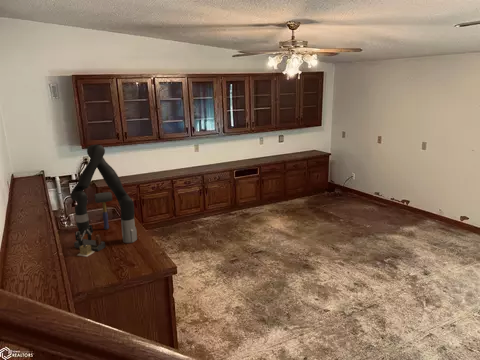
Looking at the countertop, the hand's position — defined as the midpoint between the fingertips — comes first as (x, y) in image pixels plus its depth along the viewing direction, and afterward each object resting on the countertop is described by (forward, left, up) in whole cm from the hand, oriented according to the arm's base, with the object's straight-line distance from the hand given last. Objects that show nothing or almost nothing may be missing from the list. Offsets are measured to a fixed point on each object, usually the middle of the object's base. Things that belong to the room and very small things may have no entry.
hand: (85, 242), depth 246 cm
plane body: (+5, -9, -8) cm, 13 cm away
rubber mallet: (+15, -41, -8) cm, 44 cm away
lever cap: (+1, 0, -8) cm, 8 cm away
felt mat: (+1, 0, -8) cm, 8 cm away
